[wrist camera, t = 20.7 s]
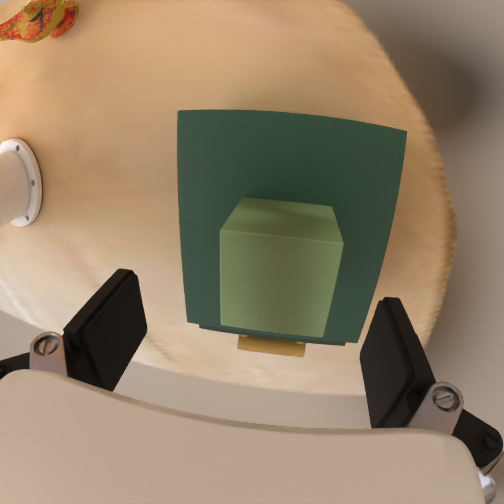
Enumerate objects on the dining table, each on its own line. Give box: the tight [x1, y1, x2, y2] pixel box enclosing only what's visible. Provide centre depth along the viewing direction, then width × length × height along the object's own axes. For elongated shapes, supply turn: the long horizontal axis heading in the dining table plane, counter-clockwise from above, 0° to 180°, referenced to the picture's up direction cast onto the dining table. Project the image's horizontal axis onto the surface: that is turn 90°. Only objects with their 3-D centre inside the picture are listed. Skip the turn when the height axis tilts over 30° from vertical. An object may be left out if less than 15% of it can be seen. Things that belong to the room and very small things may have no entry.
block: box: [220, 197, 344, 337], centre depth 15 cm, size 5×5×5 cm
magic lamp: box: [0, 0, 78, 43], centre depth 14 cm, size 7×18×11 cm, turn 84°
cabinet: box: [177, 110, 407, 343], centre depth 21 cm, size 15×13×10 cm
